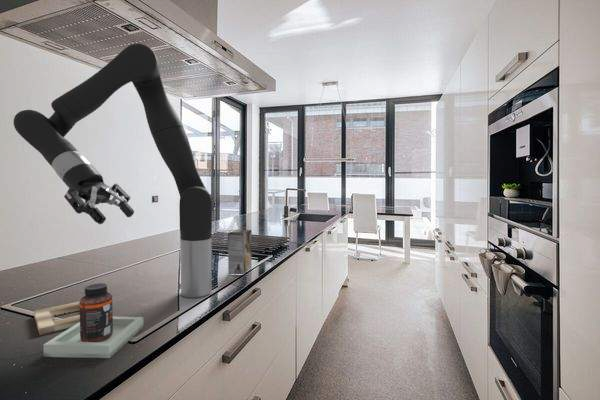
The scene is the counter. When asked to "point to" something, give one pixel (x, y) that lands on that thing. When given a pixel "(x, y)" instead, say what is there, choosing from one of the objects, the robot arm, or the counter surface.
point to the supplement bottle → (96, 314)
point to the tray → (74, 347)
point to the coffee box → (239, 251)
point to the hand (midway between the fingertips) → (118, 218)
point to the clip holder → (49, 325)
